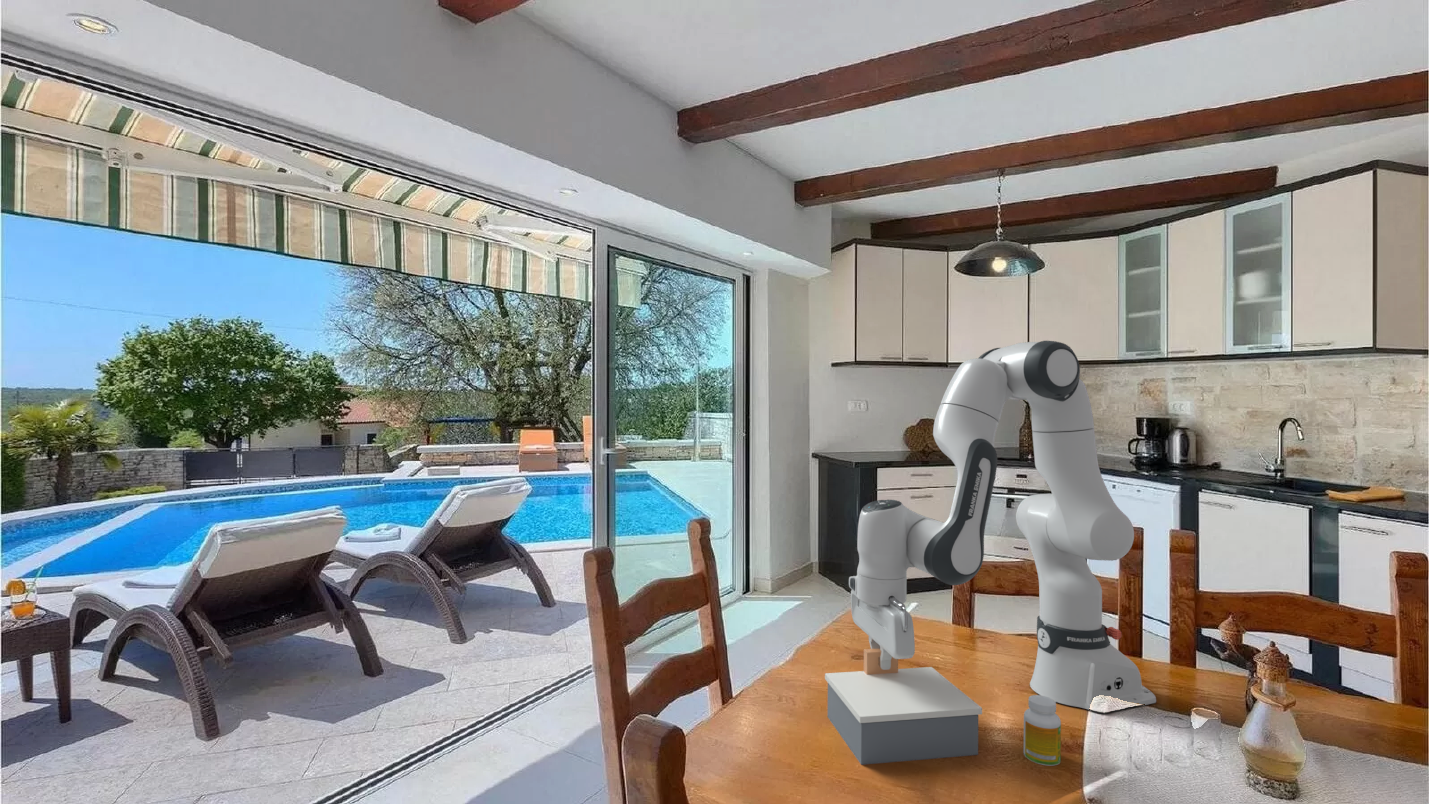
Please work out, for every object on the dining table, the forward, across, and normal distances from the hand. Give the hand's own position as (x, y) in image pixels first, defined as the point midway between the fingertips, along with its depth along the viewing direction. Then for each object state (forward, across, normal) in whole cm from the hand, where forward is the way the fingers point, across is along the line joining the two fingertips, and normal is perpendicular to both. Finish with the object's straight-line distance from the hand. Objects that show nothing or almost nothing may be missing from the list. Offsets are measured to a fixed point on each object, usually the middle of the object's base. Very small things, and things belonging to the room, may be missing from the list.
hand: (880, 664), depth 120 cm
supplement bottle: (+10, -18, -20) cm, 28 cm away
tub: (+10, -8, 0) cm, 12 cm away
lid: (+2, -8, 0) cm, 8 cm away
